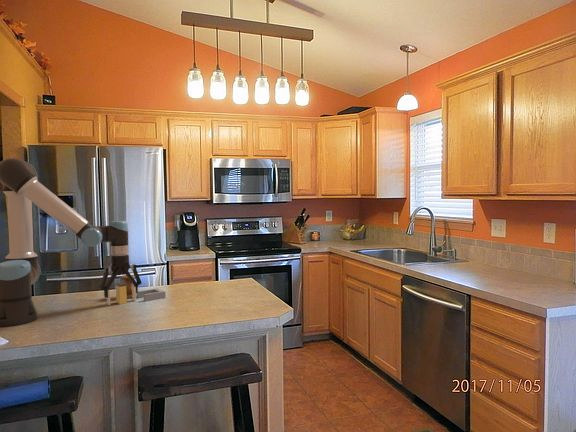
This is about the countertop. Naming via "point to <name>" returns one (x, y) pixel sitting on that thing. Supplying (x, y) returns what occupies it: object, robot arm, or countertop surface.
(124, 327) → the countertop surface
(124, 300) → the yellow upright block
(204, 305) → the countertop surface
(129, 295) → the bobbin
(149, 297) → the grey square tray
